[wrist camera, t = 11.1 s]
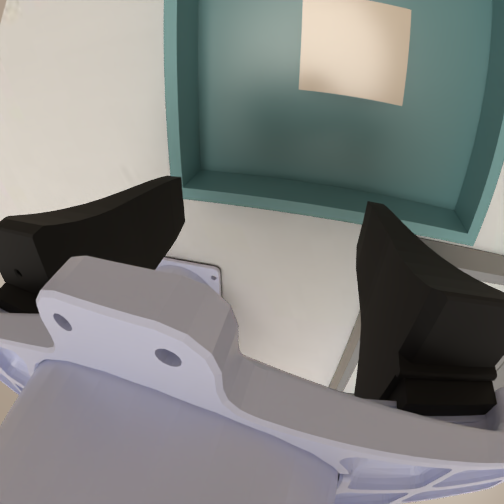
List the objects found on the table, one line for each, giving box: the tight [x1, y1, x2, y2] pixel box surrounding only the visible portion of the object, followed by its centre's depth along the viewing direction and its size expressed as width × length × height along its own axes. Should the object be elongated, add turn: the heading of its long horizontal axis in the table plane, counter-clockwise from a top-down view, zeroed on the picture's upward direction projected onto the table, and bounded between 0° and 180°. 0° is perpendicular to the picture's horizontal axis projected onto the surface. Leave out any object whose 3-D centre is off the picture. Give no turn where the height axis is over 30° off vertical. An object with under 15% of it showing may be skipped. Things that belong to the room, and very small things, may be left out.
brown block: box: [299, 0, 411, 106], centre depth 13 cm, size 4×4×6 cm
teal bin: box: [164, 0, 504, 246], centre depth 14 cm, size 20×20×4 cm
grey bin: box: [329, 238, 504, 396], centre depth 26 cm, size 24×17×3 cm
